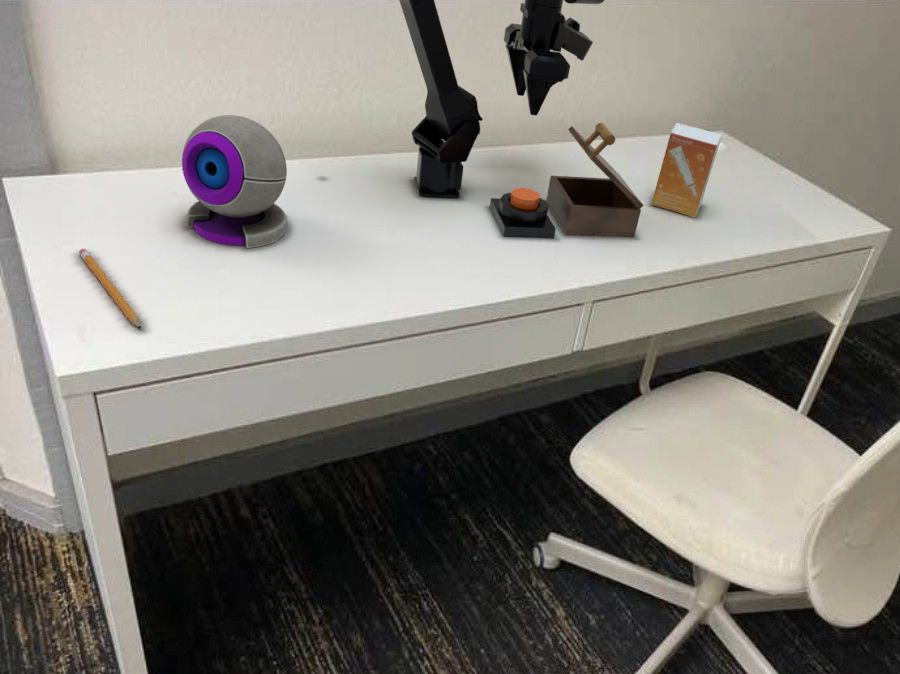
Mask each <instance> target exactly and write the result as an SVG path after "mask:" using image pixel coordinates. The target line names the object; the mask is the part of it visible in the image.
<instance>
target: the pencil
mask: <svg viewBox="0 0 900 674" xmlns="http://www.w3.org/2000/svg"><path fill="white" fill-rule="evenodd" d="M78 253H79V255H80V257H81V258H82V259H83V261H84V262H85V263H86V265H87V266H88V267H89V269H90V270H91V271H92V273H93V274H94V275H95V276H96V278H97V279H98V280H99V282H100V283H101V284H102V285H103V287H104V289H105V290H106V291H107V292H108V294H109V295H110V296H111V298H112V299H113V300H114V302H115V303H116V304H117V307H119V308H120V310H121V312H123V314H124V315H125V316H126V318H127V320H129V322H130V323H131V324H132V325H133V326H136V327H137V328H139V329H142V325H141V321H140V318H139V317H138V315H137V314H136V312H135V311H134V310H133V309H132V307H131V306H130V305H129V304H128V302H127V301H126V300H125V298H124V297H123V295H122V294H121V293H120V292H119V290H118V289H117V287H116V286H115V285H114V283H112V281H111V280H110V279H109V278H108V276H107V275H106V273H105V272H104V271H103V270H102V268H101V267H100V266H99V265H98V263H97V262H96V261H95V259H94V258H93V256H92V255H91V254H90V252H89V251H88V250H87V249H86V248H80V249H79V252H78Z"/></svg>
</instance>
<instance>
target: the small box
mask: <svg viewBox="0 0 900 674" xmlns="http://www.w3.org/2000/svg"><path fill="white" fill-rule="evenodd" d="M722 137H723V134H722V133H717V132H714V131H713V132H712V131H709V130H706V129H703V128H699V127H695V126H690V125H686V124H683V123H679V122H676V123H675V125H674V126H673V129H672V130H671V132H670V134H669V138H668V141H667V144H666V148H665V152H664V156H663V160H662V163H661V167H660V170H659V173H658V178H657V182H656V185H655V189H654V193H653V197H652V201H651V206H654V207H657V208H658V207H659V208H663V209H665V210H668V211H672V212H676V213H679V214H682V215H686V216H688V217H692V218H696V217H697V214H698V212H699V210H700V207H701V205H702V203H703V199H704V196H705V193H706V189H707V186H708V183H709V181H710V180H709V179H710V176H711V173H712V169H713V166H714V163H715V160H716V156H717V154H718V150H719V148H720V143H721V140H722Z"/></svg>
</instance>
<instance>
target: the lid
mask: <svg viewBox="0 0 900 674" xmlns="http://www.w3.org/2000/svg"><path fill="white" fill-rule="evenodd" d="M594 129H595V130H594V132H592V133H591V134H590V135H589V137H587V139H585V138H584V136H582V134H581V133H580V132H579V131H577V130H576V128H574V126H570V127H569V128H568V131H569V133H570V135H572V137H573V139H575V141H576V142H577V143H578V145H579V146H580V148H581V149H582V150H583V151H584V153H585V154H586V156H587V157H588V158H589V160H590V161H592V162H593V164H594V165H595V166H596V167H597V168H599V169H600V171H601V172H602V173H604V175H606V177H607V178H608V179H611V180H612V181H613V182H614V183H615V184H616V185H617V186H618V187H619V188H620V189H621V190H622V191H623V192H624V193H625V195H626V196H627V197H628V198H629V199H630V200H631V201H632V202H633V203H634V204H635V205H636V206H637V207H638V208H639V209H642V208H643V207H644V206H645V205H644V204H643V203H642V201H641V200H640V199H639V198H638V196H637V195H636V194H635V192H634V191H633V190H632V188H631V187H630V186H629V185H628V184H627V182H626V180H624V179H623V178H622V176H621V175H620V173H619V172H618V171H617V170H615V169H614V167H613V166H611V164H610V163H609V162H608V161H606V159H605V158H604V157H603V156H602V155H601V154H600V153H602V152H603V150H604V149H605V148H606V147H607V146H612V145H614V144H615V142H616V137H615V135H614V134H613V133H612V132H611V131H610V130H609V128H608V127H607V126H606V124H604V123H603V122H598V123H597V124H596V125H595V128H594ZM598 137H600V139H602V142H601V143H599V144H598V145H597V146H596V147H595V148H594V146H592V145H591V144H592V143H593V142H594V141H595V140H596V139H597V138H598Z"/></svg>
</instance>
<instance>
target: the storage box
mask: <svg viewBox="0 0 900 674" xmlns="http://www.w3.org/2000/svg"><path fill="white" fill-rule="evenodd" d="M545 201H546V203H547V204H548V206H549V207H548V210H549V211H550V212H551V214H552V216H553V217H554V219H555V220H556V222H557V224H558V226H559V228H560V229H561V231H562V232H563V234H564V236H574V237H575V236H577V237H579V236H580V237H607V238H633V239H634V238H635V235H636V231H637V228H638V223H639V219H640V217H641V211H642V208H640V209H639V208H638V207H637V206H636V205H635V204H634V203H633V202H632V201H631V200H630V199H629V198H628V197H627V196H626V195H625V193H624V192H623V191H622V190H621V189H620V188H619V187H618V186H617V185H616V184H615V183H614V182H613V181H612V180H611V179H610V178H603V177H587V176H586V177H585V176H567V175H550V178H549V183H548V189H547V194H546V200H545Z"/></svg>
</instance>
